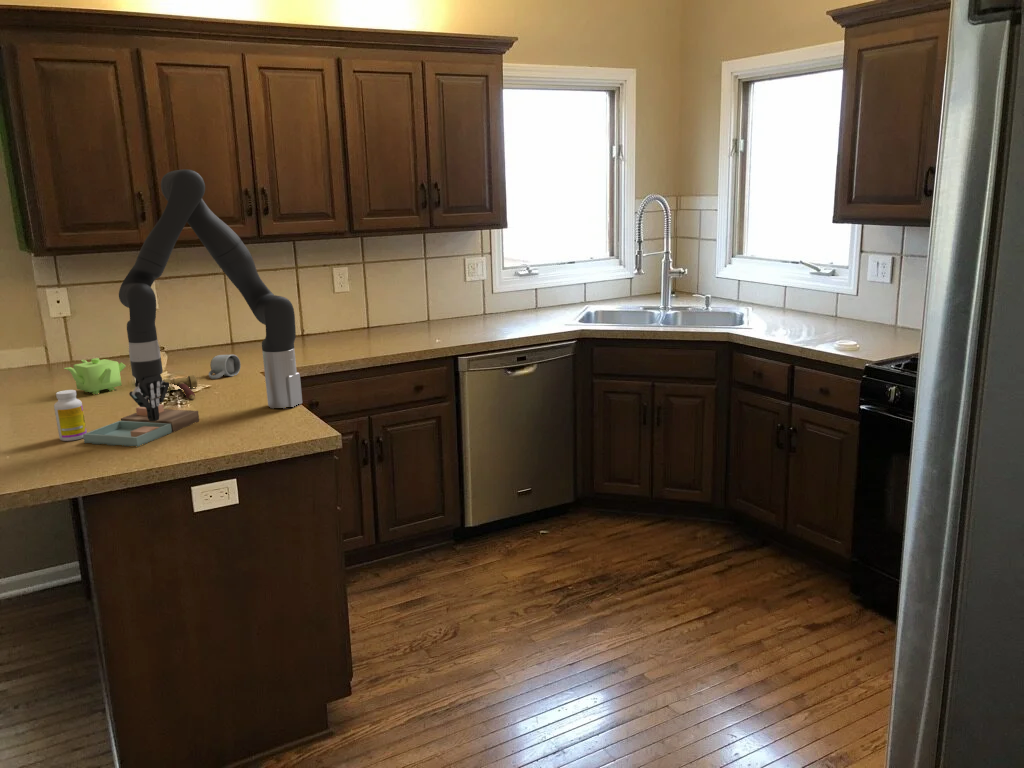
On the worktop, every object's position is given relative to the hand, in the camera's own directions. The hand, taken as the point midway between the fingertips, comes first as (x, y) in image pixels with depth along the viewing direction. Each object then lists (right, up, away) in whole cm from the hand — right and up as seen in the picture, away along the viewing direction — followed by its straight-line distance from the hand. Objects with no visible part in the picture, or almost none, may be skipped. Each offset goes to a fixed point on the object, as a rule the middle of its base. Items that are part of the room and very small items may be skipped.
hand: (154, 420), depth 220 cm
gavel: (-9, +6, +45) cm, 46 cm away
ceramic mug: (-6, +12, +70) cm, 71 cm away
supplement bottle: (-21, -5, -1) cm, 22 cm away
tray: (-6, -5, -3) cm, 8 cm away
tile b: (-6, +2, +10) cm, 12 cm away
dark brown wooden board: (-2, -2, +9) cm, 9 cm away
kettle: (-42, +7, +53) cm, 68 cm away
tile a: (-1, -2, -4) cm, 5 cm away
